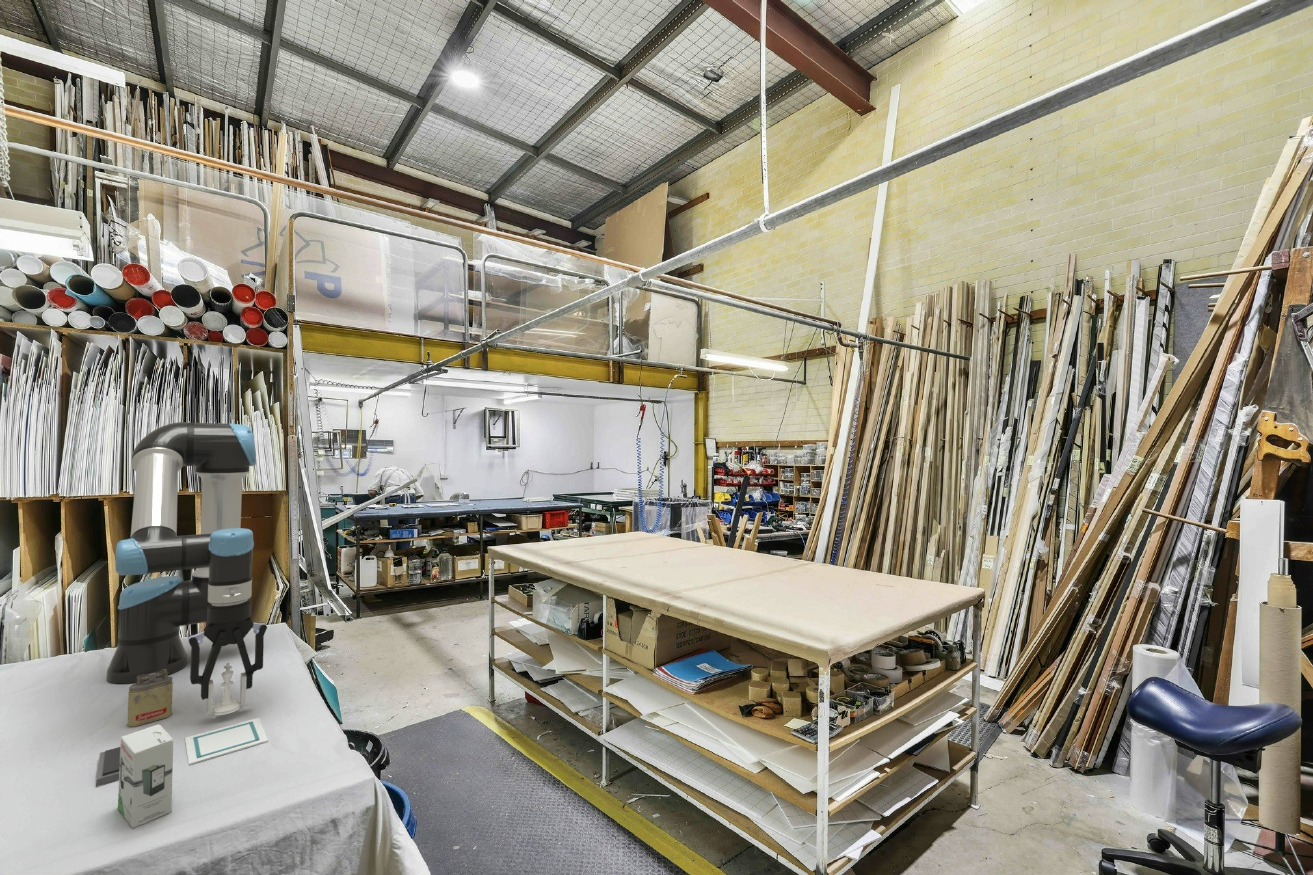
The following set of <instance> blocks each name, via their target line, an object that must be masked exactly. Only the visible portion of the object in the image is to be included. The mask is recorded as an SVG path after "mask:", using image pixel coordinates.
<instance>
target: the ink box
mask: <svg viewBox="0 0 1313 875" xmlns="http://www.w3.org/2000/svg"><path fill="white" fill-rule="evenodd" d="M119 747H120V769H119V780H118V794H117V795H118V798H117V799H118V800H117V809H118V810H119V811H120V813H121V815H122V816H123V817H124V819H125V820H126V822H127V823H128V824H129V826H130V827H131V829H134V828H137V827H138V826H141V825H144V824H147V823H149V822H151V821H154V820H155V819H157V818H161V817H162V816H165V815H167V814H169V813H171V812H172V809H173V807H172V804H173V773H174V772H173V771H174V769H173V768H174V766H173V763H174V739H173V737H171V735H170V734H169V733H168V732H167V731H166V729H165V728H164V727H163V726H162V725H161V724H155V725H152V726H149V727H147V728H144V729H141V730H138V731H135V732H131V733H128V734H125V735H122V736H120V746H119Z"/></svg>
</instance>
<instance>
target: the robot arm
mask: <svg viewBox="0 0 1313 875" xmlns="http://www.w3.org/2000/svg"><path fill="white" fill-rule="evenodd" d="M254 438H255V437H254V434H253V430H252V428H251V427H249V426H248V425H245V424H237V423H230V422H229V423H214V422H213V423H212V422H208V423H207V422H185V421H183V422H182V421H178V422H172V423H167V424H165V425H161V426H160V427H158V428H156V429H154V430H152V431H151V432H149V433H147V435H145V436H144V437H143V438H142V439H141V440H140V441H139V442H138V443H137V445H136V446H135V448H134V450H133V451H132V455H131V462H130V463H131V468H132V469H133V470H134V472H136V473H135V474H136V475H135V484H134V493H133V494H134V495H133V505H132V506H133V507H132V517H131V518H132V519H131V528H130V529H131V530H130V538H127V539H121V540H119V541H118V542H117V543H116V546H115V547H116V548H115V559H114V560H115V563H114V564H115V566H114V567H115V573H116V574H118V575H119V576H137V575H138V576H141V575H147V574H155V573H156V574H157V573H163V572H164V573H165V572H173V571H174V572H175V571H182V570H194V571H193V572H192V573H191V579H190V580H183V579H182V578H181V577H180V575H171V576H162V577H161V576H160V577H155V578H150V579H146V580H143V581H140V582H135V583H133V584H130V585H129V586H127V587H125V588H124V589H123V590H122V591H121V592H120V594H119V602H118V606H117V609H118V628H117V630H118V632H117V634H118V635H117V647H116V649H115V652H114V654H113V656H112V659H111V661H110V663H109V665H108V668H107V671H106V681H107V682H108V683H111V684H135V683H136V682H137V676H140V675H147V674H151V673H155V672H159V671H162V670H163V669H167V672H168V676H169V675H171V674H174V673H176V672H178V671H180V670H182V669H184V668H185V667H186V666H187V664H188V654H187V651H186V649H185V647H184V644H183V642H182V640H181V638H180V627H183V626H189V625H196V624H197V625H198V624H203V623H206V625H205V627H204V628H203V631H201V632H199V633H196V634H190V635H188V637H187V640H188V643H189V645H190V647H191V652H190V671H189V672H190V673H189V680H190V684H191V685H200V698H201V699H202V700H207V702H206V713H207V716H211V715H213V708H214V689H215V688H214V681H213V680H214V679H212V675H213V673H214V672H213V671H214V670H215V667H216V664H217V659H218V658H219V654H220V652H221V650H222V647H226V646H228V645H237V648H238V652H239V655H240V659H241V662H242V665H243V668H244V672H240V681H239V682H240V683H239V684H240V685H239V686H240V688H239V702H240V705H241V707H242V708H243V707H246V705H247V703H246V702H247V690H249V689H252V687H253V680H254V679H253V678H254V676H253V675H254V673H255V672H256V671H260V670H262V669H263V668H264V643H265V642H264V639H265V638H264V636H265V633H266V631H267V629H268V626H267V624H266V622H259V623H258V622H254V621H253V620H252V600H251V598H252V592H253V590H252V587H253V586H252V585H253V584H252V583H253V575H252V574H253V562H254V561H253V558H254V557H253V556H254V555H253V554H254V547H255V541H254V533H253V531H252V530H251V529H249V528H245V527H243V528H241V524H242V523H241V522H242V499H243V498H242V497H243V494H242V493H243V492H242V491H243V478H244V477H245V476H246V475H248V474H249V473H250V467H254V466H256V464H257V453H256V452H257V451H256V445H255V439H254ZM183 467H195V468H194V470H195V471H194V472H195V474H196V475H197V476H199V477H200V478H201V480H202V482H201V483H202V485H201V514H200V518H201V519H200V534H190V535H189V534H187V535H185V534H184V535H177V531H178V530H177V528H178V489H179V488H178V480H179V472H180V471H181V469H182V468H183ZM182 580H183V581H182ZM252 629H253V633H254V634H255V635H254V636H255V641H254V642H255V643H254V644H255V646H254V663H253V664H251V660H250V657H249V653H248V650H247V646H246V643H245V639H244V638H246V636H247V635H248V634H249V632H250V631H251V630H252ZM204 638H207V639H208V640H209V641H210V642H211V643H212V644H211V648H210V650H209V655H208V657H207V659H206V662H205V665H204V669H203V672H202V675H199V674H200V673H199V672H200V650H201V647H200V645H202V644H203V642H204ZM157 674H158V673H157ZM161 677H162V676H160V677H157V678H161ZM144 681H148V680H143V681H142V682H144ZM241 707H240V708H241Z"/></svg>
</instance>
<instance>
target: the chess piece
mask: <svg viewBox="0 0 1313 875" xmlns="http://www.w3.org/2000/svg"><path fill="white" fill-rule="evenodd" d="M230 664H231V662H230V663H229V662H227V663H225V665H223V669H225V671H224V672H222V673H221V677H222V679H223V681H224V682H222V683H221V685H220V686H221V687H223V694H222V699H221V701H220V702H219V703H218V704H217V705H215V706H213V714H212V715H214V716H224V715H228V714H231V713H235V712H236V711H238V710H240V708H241V704H240V701H238V700H234V699H232V694H231V692H232V691H231V686H233V684H234V681H233V680H231V679H232V677H233V675H234V671H233V670H232V669H233V666H230Z"/></svg>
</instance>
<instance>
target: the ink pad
mask: <svg viewBox="0 0 1313 875" xmlns="http://www.w3.org/2000/svg"><path fill="white" fill-rule="evenodd" d="M97 765H98V766H97V772H96V773H97V774H96V781H95V782H96V784H95V786H96V787H99V786H103V785H107V784H110V783H113V782H117V781H119V769H120V746H117V747H113V748H111V749H106V750H105V751H101V752H99V757H98V764H97Z"/></svg>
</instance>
